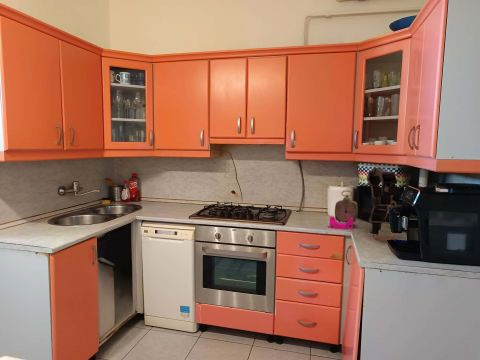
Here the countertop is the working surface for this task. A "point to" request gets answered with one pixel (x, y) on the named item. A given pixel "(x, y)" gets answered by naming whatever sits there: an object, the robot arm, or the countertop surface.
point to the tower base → (384, 238)
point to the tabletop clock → (346, 209)
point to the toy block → (340, 224)
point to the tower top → (385, 234)
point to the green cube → (385, 227)
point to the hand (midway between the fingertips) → (385, 219)
